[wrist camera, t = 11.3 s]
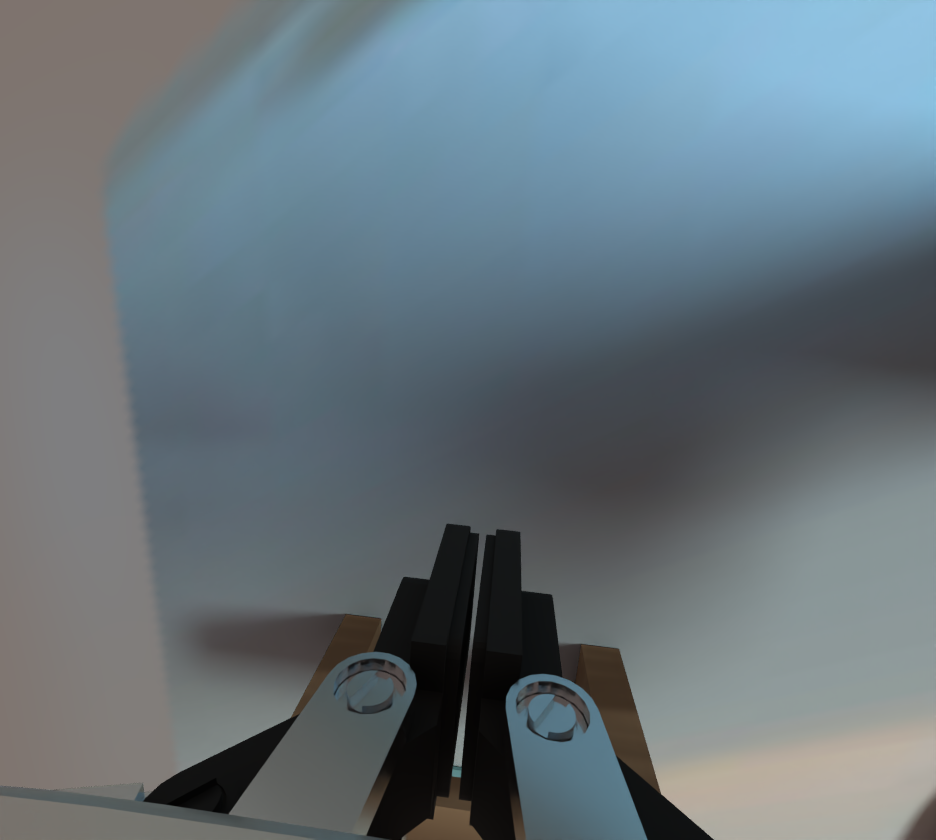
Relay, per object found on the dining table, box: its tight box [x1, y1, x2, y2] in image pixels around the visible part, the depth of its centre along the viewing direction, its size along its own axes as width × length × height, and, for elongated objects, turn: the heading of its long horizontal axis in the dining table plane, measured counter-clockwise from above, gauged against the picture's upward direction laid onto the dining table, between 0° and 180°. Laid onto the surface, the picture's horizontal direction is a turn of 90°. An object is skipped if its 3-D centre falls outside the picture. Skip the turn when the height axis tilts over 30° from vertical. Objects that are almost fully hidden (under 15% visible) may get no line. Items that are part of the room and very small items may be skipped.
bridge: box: [291, 614, 661, 840], centre depth 23 cm, size 3×15×10 cm, turn 86°
